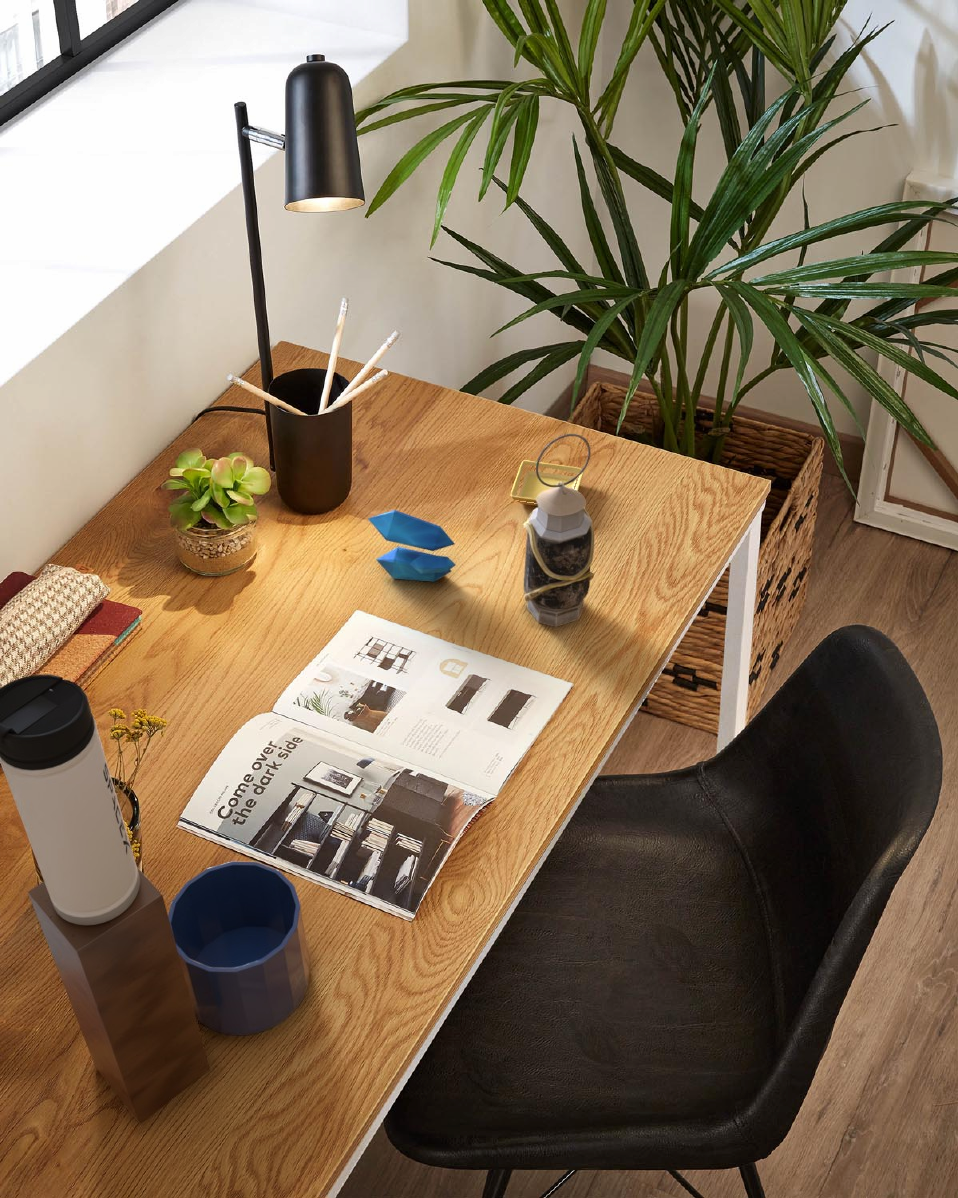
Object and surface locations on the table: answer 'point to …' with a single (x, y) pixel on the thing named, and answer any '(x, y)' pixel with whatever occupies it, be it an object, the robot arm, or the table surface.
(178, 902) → the crock
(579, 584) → the lantern
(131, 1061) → the plinth
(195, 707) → the table surface
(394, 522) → the blue crystals
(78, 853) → the travel mug
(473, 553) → the table surface
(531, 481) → the yellow basket
